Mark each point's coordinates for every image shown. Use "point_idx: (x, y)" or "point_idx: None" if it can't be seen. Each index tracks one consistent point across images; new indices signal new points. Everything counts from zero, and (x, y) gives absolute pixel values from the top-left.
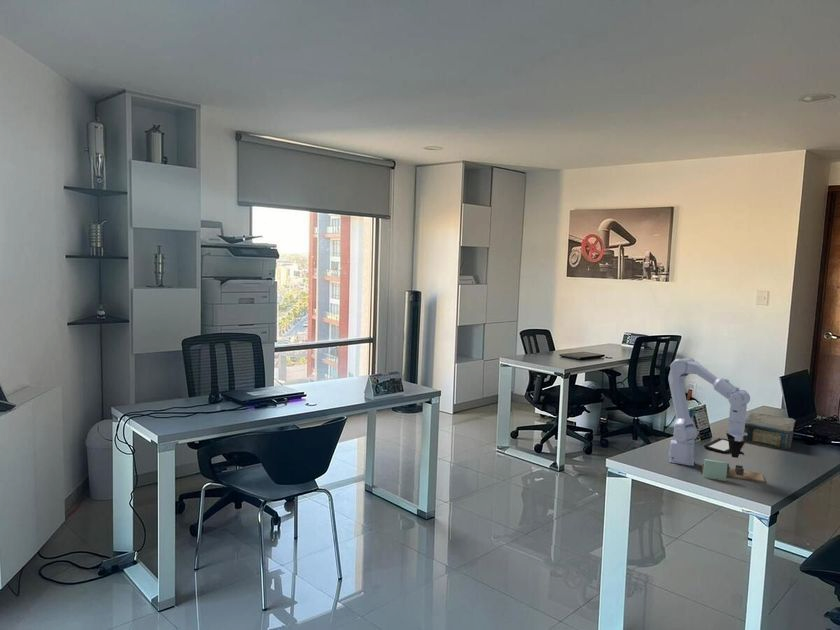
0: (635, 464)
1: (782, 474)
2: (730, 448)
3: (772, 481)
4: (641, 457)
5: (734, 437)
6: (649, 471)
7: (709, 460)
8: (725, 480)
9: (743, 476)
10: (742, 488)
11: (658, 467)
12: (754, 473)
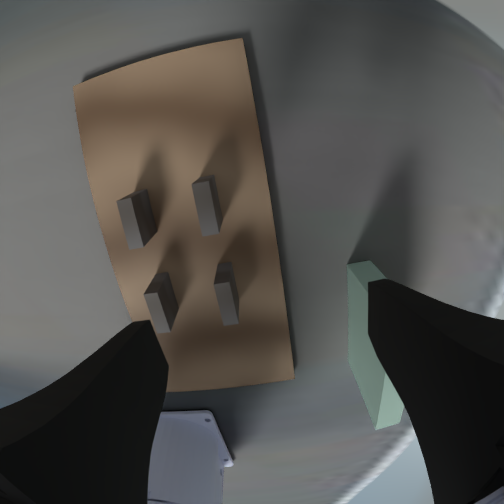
0: (332, 491)
1: (7, 26)
2: (159, 390)
3: (165, 12)
4: (242, 498)
5: (96, 498)
6: (385, 462)
7: (396, 408)
8: (370, 263)
9: (237, 171)
10: (444, 171)
11: (325, 466)
12: (104, 118)
